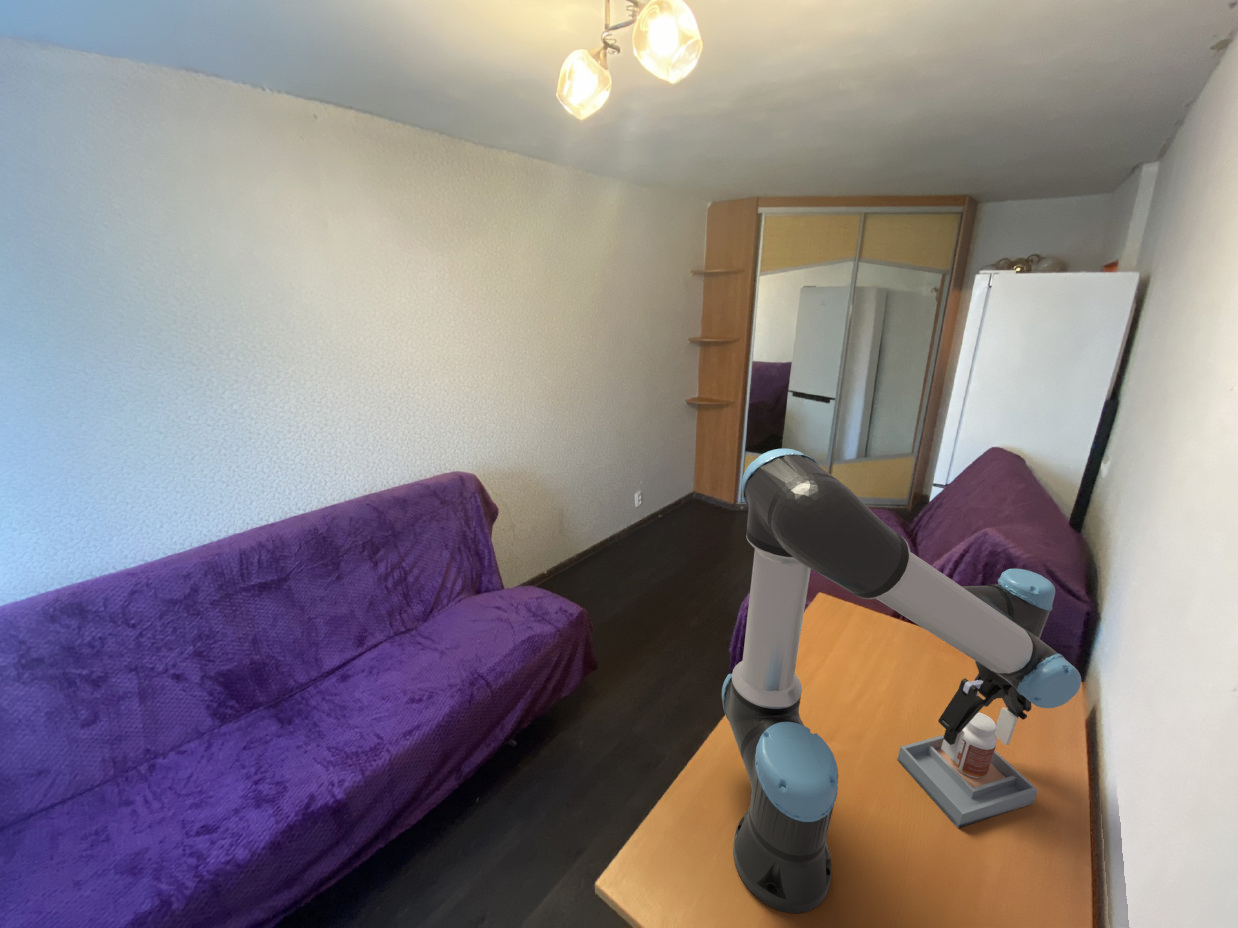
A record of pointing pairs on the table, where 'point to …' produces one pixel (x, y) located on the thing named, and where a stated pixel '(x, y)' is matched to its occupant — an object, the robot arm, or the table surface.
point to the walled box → (965, 784)
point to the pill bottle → (976, 747)
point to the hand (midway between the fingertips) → (975, 746)
